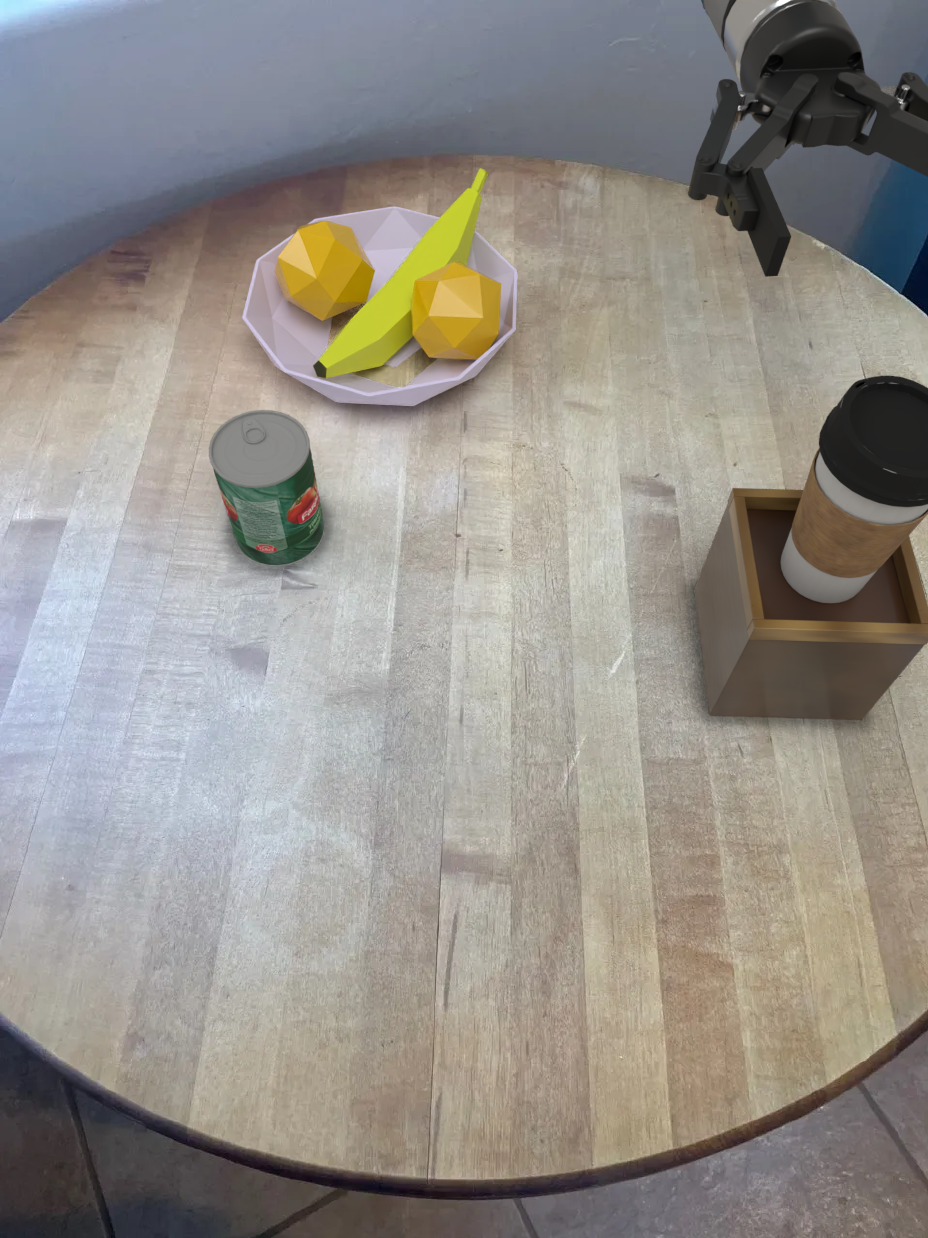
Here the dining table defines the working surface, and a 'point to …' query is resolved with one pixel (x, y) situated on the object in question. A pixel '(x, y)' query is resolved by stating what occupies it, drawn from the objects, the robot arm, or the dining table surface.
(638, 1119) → the dining table surface
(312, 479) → the canned tomato
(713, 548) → the box
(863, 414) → the coffee cup
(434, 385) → the fruit bowl
